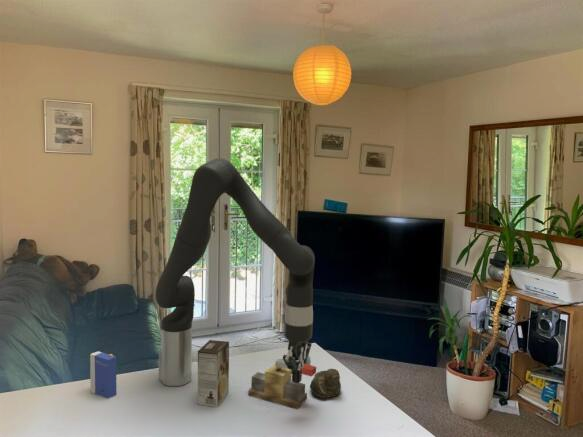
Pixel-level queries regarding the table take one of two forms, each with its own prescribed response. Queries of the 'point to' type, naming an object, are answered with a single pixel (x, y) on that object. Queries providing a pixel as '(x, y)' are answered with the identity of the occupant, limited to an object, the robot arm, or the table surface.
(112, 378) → the walkman
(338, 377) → the seashell
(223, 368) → the coffee box
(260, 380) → the valve plinth
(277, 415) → the table surface
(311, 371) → the valve lever
